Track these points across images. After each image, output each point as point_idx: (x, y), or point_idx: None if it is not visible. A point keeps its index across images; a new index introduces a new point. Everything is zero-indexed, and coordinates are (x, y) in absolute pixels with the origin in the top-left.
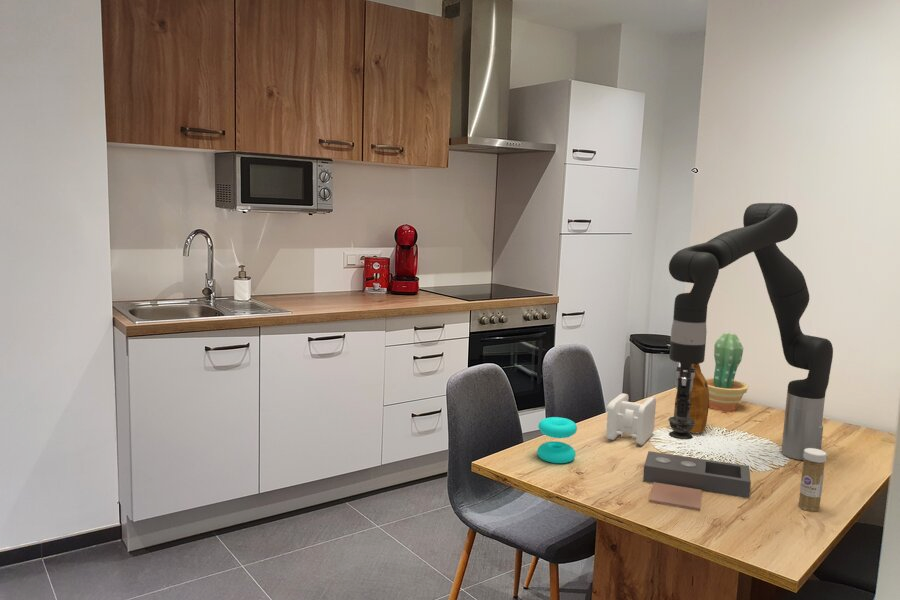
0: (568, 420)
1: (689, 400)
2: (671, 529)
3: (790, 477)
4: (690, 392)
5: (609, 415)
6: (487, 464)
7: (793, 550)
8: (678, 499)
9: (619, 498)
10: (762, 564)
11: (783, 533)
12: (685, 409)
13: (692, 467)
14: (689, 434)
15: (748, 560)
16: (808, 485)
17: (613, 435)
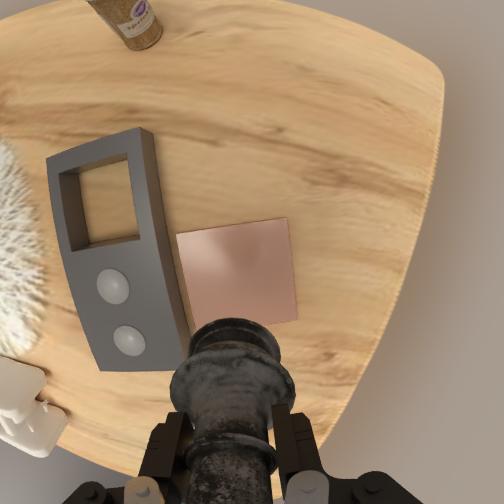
0: None
1: (239, 470)
2: (396, 251)
3: (20, 103)
4: (141, 494)
5: (52, 444)
6: (273, 496)
7: (363, 51)
8: (264, 268)
9: (306, 362)
10: (435, 103)
11: (303, 58)
12: (313, 438)
13: (125, 274)
14: (223, 335)
15: (435, 122)
16: (146, 10)
17: (60, 414)
